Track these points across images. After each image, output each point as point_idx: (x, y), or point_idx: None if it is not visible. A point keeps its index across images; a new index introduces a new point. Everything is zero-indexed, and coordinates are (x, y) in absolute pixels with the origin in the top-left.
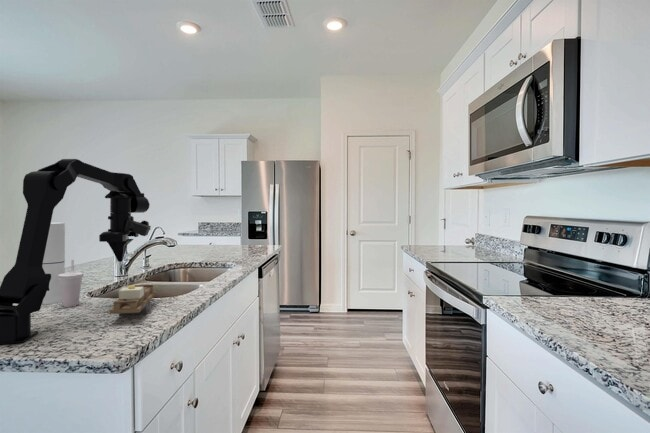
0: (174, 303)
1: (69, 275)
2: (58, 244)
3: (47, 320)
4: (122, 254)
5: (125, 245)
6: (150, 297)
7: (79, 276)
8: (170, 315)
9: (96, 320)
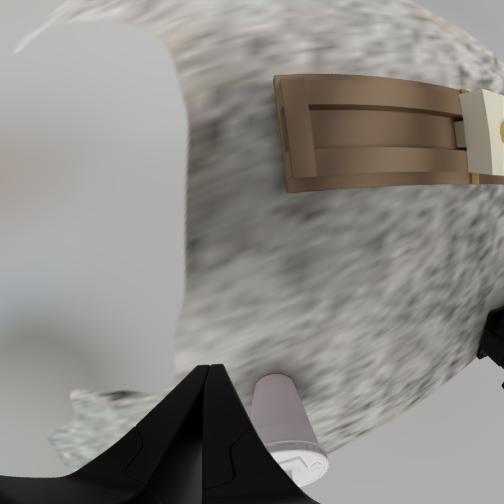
0: (276, 27)
1: (319, 464)
2: None
3: (415, 356)
4: (240, 405)
5: (149, 490)
6: (393, 79)
7: (301, 445)
8: (417, 32)
9: (450, 233)
